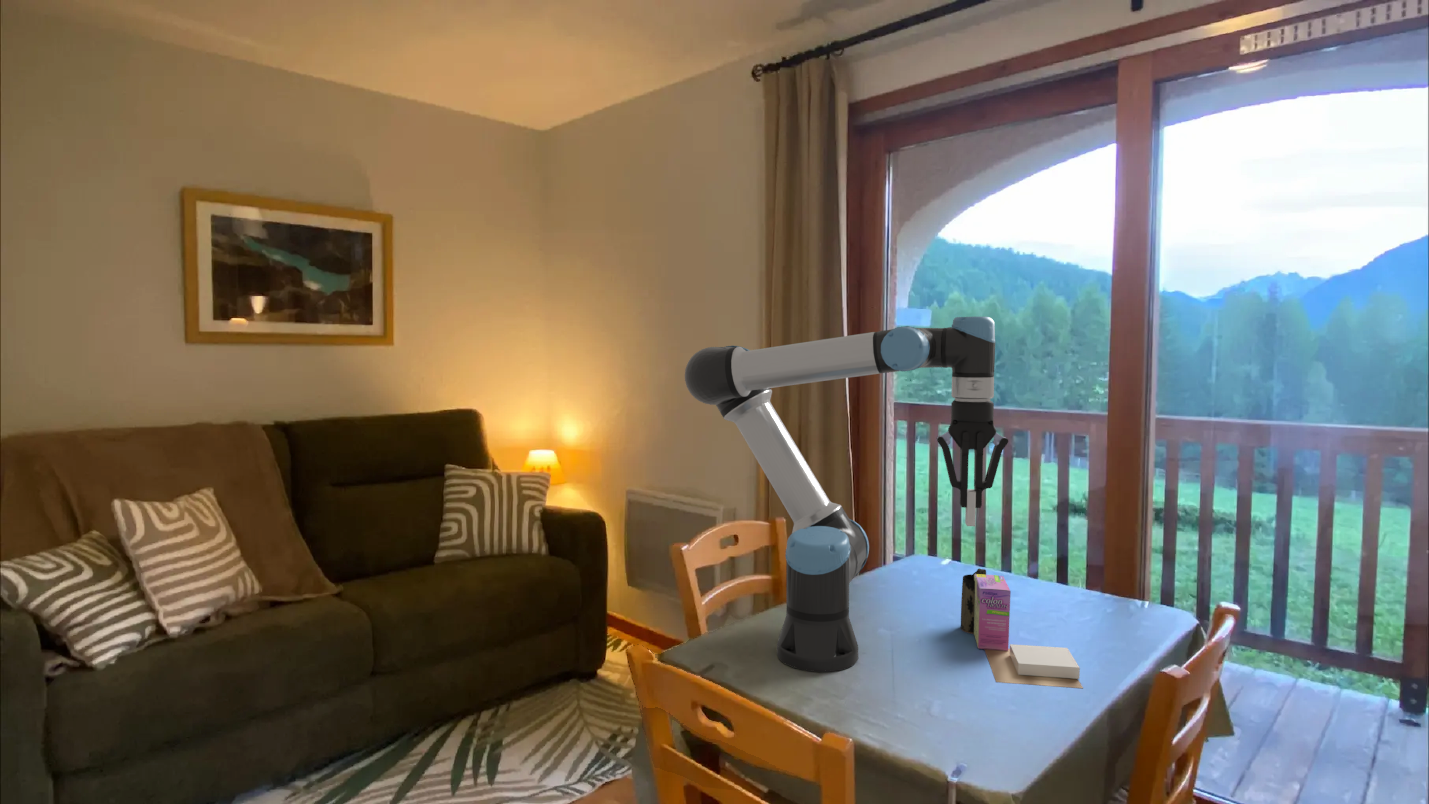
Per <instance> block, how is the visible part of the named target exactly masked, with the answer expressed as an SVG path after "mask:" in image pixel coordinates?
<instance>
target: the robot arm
mask: <svg viewBox="0 0 1429 804" xmlns="http://www.w3.org/2000/svg"><path fill="white" fill-rule="evenodd" d="M995 327H996V326H995V321H994V320H993V318H992V317H989V316H957V317H954V318H953V319H952V324H951V326H949V327H915V326H909V325H906V326H897V327H895V328H891V329H885V330H879V331H872V332H864V333H858V334H852V335H845V336H844V335H843V336H838V337H830V338H823V339H818V340H811V341H805V342H798V343H792V344H784V345H779V346H771V347H765V348H757V349H748V348H745V347H743V346H738V345H725V346H709V347H705V348H701V350H698V351H697V352H695V353H693V355H692V356H691V357H690V358H689V360H688V361H687V363H686V367H685V368H684V381H685V382H684V383H685V386H686V388H687V390H688V392H689V393H690V394H691V396H692V397H693V398H694V399H695V400H697V401H699V402H700V403H703V404H705V405H711V406H715V407H716V408H717V410H718V411H719V413H720V414H721V417H722V419H724V420H725V421H729V422H733V423H734V424H735V425H736V427H737V429H738V432H740V433H741V435H742V436H741V437H743V439H744V441H745V442H746V444H747V447H748V448H749V449H750V451H751V453H752V454H753V456H754V458H755V459H756V461H757V463H758V465H759V466H760V468H761V469H762V471H763V473H764V475H765V476H766V478H767V480H768V481H769V483H770V485H771V486H772V488H773V490H774V491H775V493H776V495H777V496H778V498H779V499H780V501H781V503H782V505H783V506H784V508H785V510H786V511H787V514H788V515H789V517H790V518H791V520H792V522H793V527H792V530H791V531H792V532H791V534H790V535H789V536H788V538H787V541H786V549H785V555H784V556H785V560H786V566H785V567H786V572H785V573H786V574H785V576H786V584H785V586H786V587H785V588H786V590H785V591H786V614H785V618H784V620H783V623H782V626H781V630H780V633H779V636H778V639H777V643H776V656H777V659H778V660H780V662H781V663H783V664H785V665H786V666H788V667H792V668H794V669H797V670H801V671H807V672H817V673H819V672H820V673H822V672H823V673H824V672H837V671H842V670H845V669H848V668H851V667H852V666H854V665H855V664H856V663H857V662H858V661H859V645H858V642H857V638H856V635H855V631H854V628H853V625H852V623H851V619H850V583H851V582H852V580H853V579H854V578H855V576H857V575H858V574H859V573H860V572H861V571H862V570H863V568H864V566H865V565H866V563H867V561H868V557H869V551H870V542H869V538H868V536H867V533H866V531H865V530H864V529H863V527H862V526H861V525H860V524H859V523H857V522H856V521H855V520H853V519H850V518H849V516H848V514H847V512H846V511H845V510H844V508H843V506H842V505H841V504H838V503H836V502H832V501H831V500H830V499H829V497H828V495H827V494H826V492H825V491H824V489H823V487H822V485H821V483H819V481H818V479H817V477H816V476H815V474H814V472H813V471H812V469H811V467H810V466H809V464H808V462H807V461H806V459H805V457H804V455H803V454H802V452H801V450H800V449H799V447H798V446H797V444H796V443H795V441H794V439H793V438H792V436H791V434H790V432H789V431H788V429H787V427H786V426H785V424H784V423H783V421H782V419H781V417H780V416H779V414H778V413H777V411H776V409H775V408H774V406H773V404H772V402H771V398H772V395H773V390H772V389H773V388H779V387H787V386H793V385H794V386H795V385H802V384H810V383H818V382H824V381H833V380H839V379H840V380H841V379H847V378H849V379H850V378H855V377H864V376H871V375H877V374H887V373H889V374H890V373H896V372H909V371H914V370H916V369H919V368H921V369H923V368H925V369H926V368H927V369H928V368H933V369H934V368H935V369H936V368H943V369H945V368H951V372H952V373H951V397H952V398H953V399H954V400H952V402H951V403H950V404H951V409H950V414H951V416H950V424H949V426H948V428H947V429H948V430H947V431H946V432H945V433H943V434H941V435H937V436H936V442H937V443H938V444H939V446H940V448H941V451H942V454H943V458H944V462H945V463H944V464H945V467H946V471H947V476H948V480H949V483H950V485H951V487H952V488H956V489H958V490H959V504H960V507H961V508H965V517H964V518H965V519H964V521H965V522H964V523H965V525H966V527H976V509H981V508H982V506H983V505H982V504H983V503H982V502H983V499H982V498H983V491H984V490H987V489H991V488H993V485H994V482H995V478H996V476H997V475H996V474H997V470H998V468H999V463H1000V460H1001V456H1002V453H1003V450H1004V449H1005V448H1006V446H1007V445H1008V443H1009V439H1008V438H1007V437H1006V436H1003V435H1001V434H999V433H998V432H997V428H996V426H995V425H994V413H995V411H994V408H995V406H994V405H995V403H994V402H993V400H992V401H991V399H993V398H994V397H995V365H996V364H995V360H996V359H995V358H996V329H995ZM951 438H952V440H953V441H954V443H955V444H956V445H957V446H958V448H959V452H960V458H959V461H960V462H959V467H960V468H959V480H958V478H957V474H956V471H955V470H956V469H955V467H954V466H955V465H954V461H953V458H952V457H953V456H952V453H951V450H950V446H949V445H950V444H951ZM992 439H993V440H992ZM991 441H992V442H993V443H992V444H993V445H994V446H993V449H992V451H991V456H990V459H989V464H988V467H987V471H986V474H985V478H984V477H983V475H984V474H983V473H984V472H983V471H984V470H983V469H984V467H983V465H984V463H983V461H984V449H985V448H986V447H987V446H988V445H989V443H990V442H991ZM970 450H973V451H974V458H973V459H974V460H973V461H974V465H973V466H974V467H973V469H974V470H973V474H974V475H973V487H974V488H969V455H970ZM983 478H984V480H983Z"/></svg>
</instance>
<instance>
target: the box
mask: <svg viewBox="0 0 1429 804" xmlns="http://www.w3.org/2000/svg"><path fill="white" fill-rule="evenodd" d="M973 574H974V573H973ZM974 581H975V611H974V634H973V636H974V638H975V642H976V646H977V649H979V650H980V649H981V650H984V649H987V650H999V651H1008V649H1009V646H1010V643H1009V642H1010V638H1009V637H1010V614H1011V613H1010V612H1011V591H1012V590H1011V589H1010V587H1009V585H1008V583H1007V581H1006V579H1005V577H1004V575H997V574H995V575H994V574H986V575H984V574H974Z"/></svg>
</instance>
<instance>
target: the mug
mask: <svg viewBox="0 0 1429 804" xmlns="http://www.w3.org/2000/svg"><path fill="white" fill-rule="evenodd" d="M974 574H984V575H987V570H986V569H985V568H978V569H976V571H975V572H974V573H972V574H965V575H963V576H962V583H961V584H962V585H961V601H960V602H961V604H960V608H961V609H960V629H961V631H962V632H964V633H967V634H970V635H974V611H975V581H974Z"/></svg>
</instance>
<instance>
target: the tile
mask: <svg viewBox="0 0 1429 804" xmlns="http://www.w3.org/2000/svg"><path fill="white" fill-rule="evenodd" d="M1068 648H1069V647H1056V646H1043V645H1026V644H1011V643H1009V649H1010V657H1011V659H1012V661H1013V663H1014V666H1015V668H1016V670H1017V673H1018V675H1030V676H1044V677H1058V678H1072V679H1078V680H1079V679H1080V674H1081V673H1080V670H1081V668H1080V666H1079V665H1078V663H1077V660H1076V659H1075V658H1074V656H1073V654H1072V653H1071V652H1070V649H1068Z"/></svg>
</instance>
